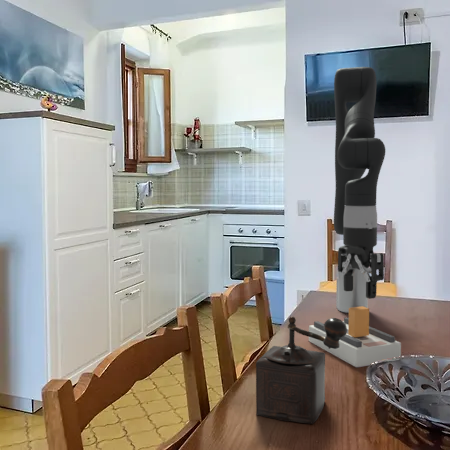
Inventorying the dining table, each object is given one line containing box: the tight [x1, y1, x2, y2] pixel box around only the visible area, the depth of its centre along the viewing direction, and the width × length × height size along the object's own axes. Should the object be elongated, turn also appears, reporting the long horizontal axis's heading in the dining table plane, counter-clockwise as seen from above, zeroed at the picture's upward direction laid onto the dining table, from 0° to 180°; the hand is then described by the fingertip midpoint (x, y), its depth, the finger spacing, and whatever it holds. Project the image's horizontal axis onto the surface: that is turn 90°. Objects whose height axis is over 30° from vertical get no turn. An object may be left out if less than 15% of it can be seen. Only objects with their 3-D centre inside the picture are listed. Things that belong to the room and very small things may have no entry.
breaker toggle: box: [348, 306, 370, 337], centre depth 116 cm, size 2×4×6 cm, turn 111°
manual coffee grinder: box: [255, 315, 347, 425], centre depth 86 cm, size 16×11×18 cm
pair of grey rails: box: [313, 317, 396, 348], centre depth 118 cm, size 18×10×1 cm, turn 21°
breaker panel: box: [308, 320, 402, 368], centre depth 119 cm, size 20×12×4 cm, turn 21°
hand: (359, 294), depth 115 cm, fingers open, 8 cm apart
